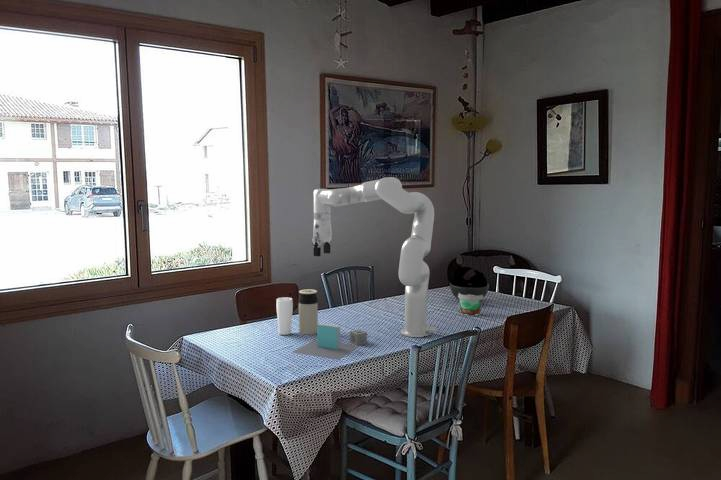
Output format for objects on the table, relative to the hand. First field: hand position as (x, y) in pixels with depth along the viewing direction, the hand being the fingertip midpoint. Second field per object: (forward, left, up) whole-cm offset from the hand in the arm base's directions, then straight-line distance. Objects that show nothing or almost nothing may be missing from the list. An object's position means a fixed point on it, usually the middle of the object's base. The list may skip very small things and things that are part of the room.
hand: (322, 254), depth 264 cm
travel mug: (-3, +18, -31) cm, 36 cm away
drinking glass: (+5, +24, -31) cm, 40 cm away
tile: (-21, +34, -31) cm, 50 cm away
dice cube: (-29, +23, -31) cm, 48 cm away
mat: (-21, +36, -31) cm, 51 cm away
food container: (-58, -41, -31) cm, 77 cm away
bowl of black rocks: (-52, -65, -31) cm, 89 cm away
